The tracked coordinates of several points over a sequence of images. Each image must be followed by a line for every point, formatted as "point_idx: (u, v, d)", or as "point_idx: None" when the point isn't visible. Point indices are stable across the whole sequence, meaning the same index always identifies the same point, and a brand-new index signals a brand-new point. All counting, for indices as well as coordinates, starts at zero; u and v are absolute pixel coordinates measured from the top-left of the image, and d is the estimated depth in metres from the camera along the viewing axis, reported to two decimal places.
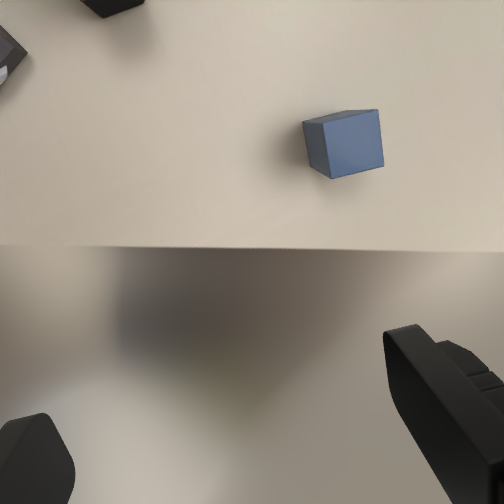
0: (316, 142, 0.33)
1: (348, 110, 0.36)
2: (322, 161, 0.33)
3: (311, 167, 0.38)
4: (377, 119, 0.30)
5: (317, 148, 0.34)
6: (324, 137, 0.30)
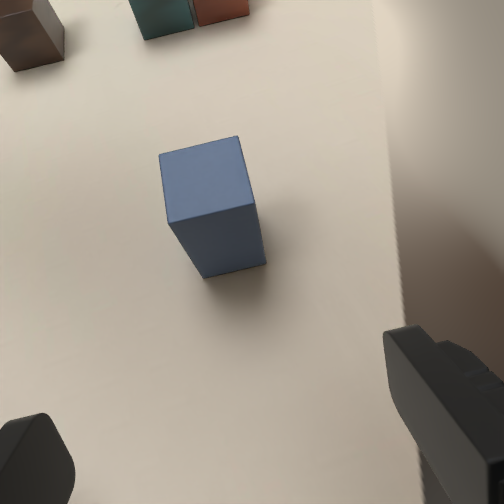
0: (213, 242, 0.22)
1: None
2: (236, 227, 0.21)
3: (265, 260, 0.26)
4: (171, 152, 0.21)
5: (222, 240, 0.22)
6: (189, 218, 0.19)
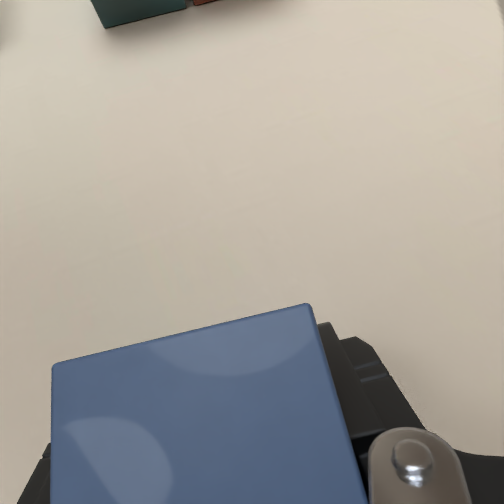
0: None
1: None
2: None
3: None
4: (93, 362, 0.06)
5: None
6: None
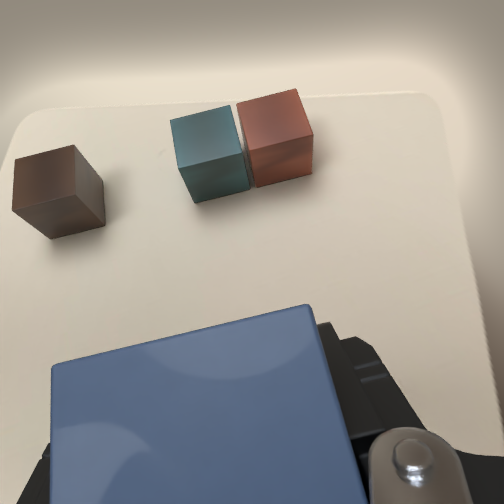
0: None
1: None
2: None
3: None
4: (92, 363, 0.06)
5: None
6: None
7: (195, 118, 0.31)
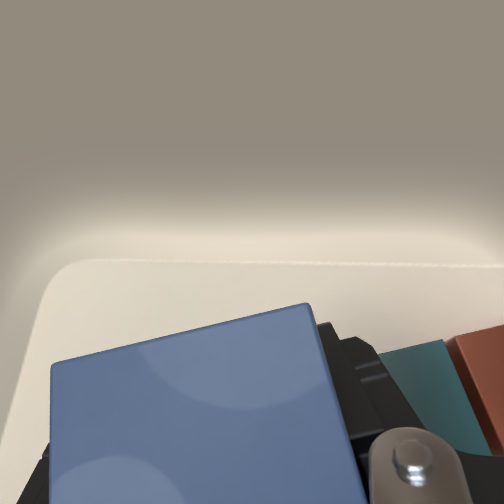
0: None
1: None
2: None
3: None
4: (91, 362, 0.06)
5: None
6: None
7: None
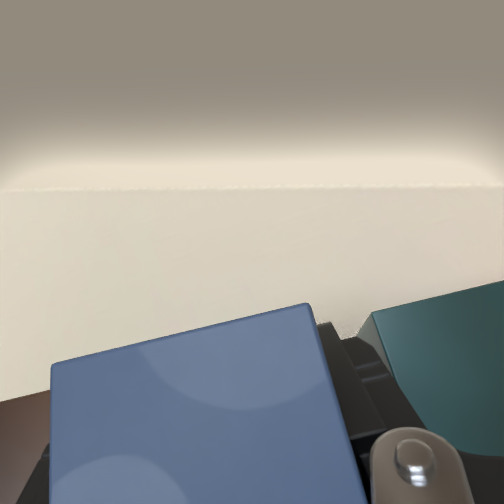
0: None
1: None
2: None
3: None
4: (92, 362, 0.06)
5: None
6: None
7: (462, 313, 0.09)
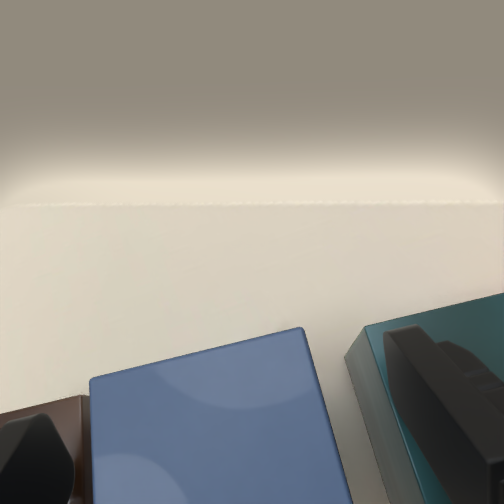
0: None
1: None
2: None
3: None
4: (123, 377, 0.08)
5: None
6: None
7: (445, 327, 0.10)
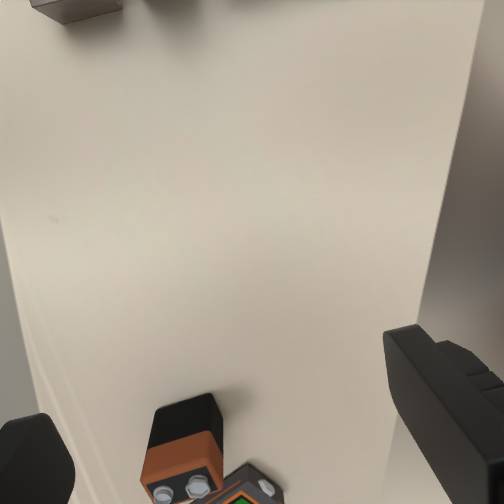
0: None
1: None
2: None
3: None
4: None
5: None
6: None
7: None
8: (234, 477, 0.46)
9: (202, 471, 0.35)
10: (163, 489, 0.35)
